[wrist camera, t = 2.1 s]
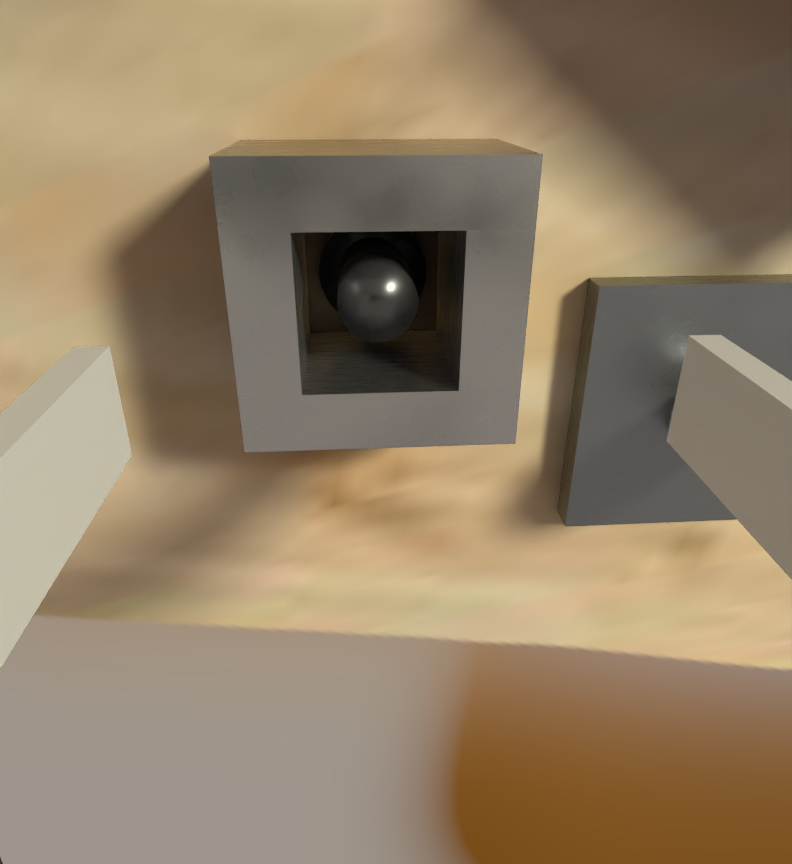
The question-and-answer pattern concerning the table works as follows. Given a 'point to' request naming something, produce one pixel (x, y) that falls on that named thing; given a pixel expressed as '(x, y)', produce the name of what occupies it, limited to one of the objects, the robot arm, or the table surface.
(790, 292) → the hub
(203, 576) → the table surface
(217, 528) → the table surface
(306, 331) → the collar
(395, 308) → the knob
